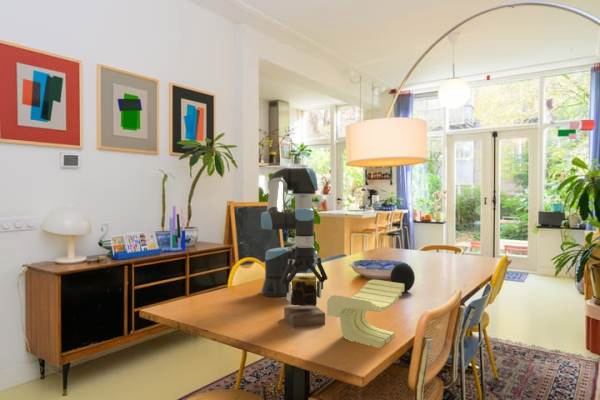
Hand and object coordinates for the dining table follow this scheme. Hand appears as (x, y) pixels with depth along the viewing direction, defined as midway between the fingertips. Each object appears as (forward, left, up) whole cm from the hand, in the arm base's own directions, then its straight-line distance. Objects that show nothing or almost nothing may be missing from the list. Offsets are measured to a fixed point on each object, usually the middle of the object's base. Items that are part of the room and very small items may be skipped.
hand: (304, 298), depth 161 cm
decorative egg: (-25, +67, -9) cm, 72 cm away
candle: (0, 0, -2) cm, 2 cm away
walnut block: (0, 0, -10) cm, 10 cm away
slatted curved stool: (+25, +15, -9) cm, 30 cm away
